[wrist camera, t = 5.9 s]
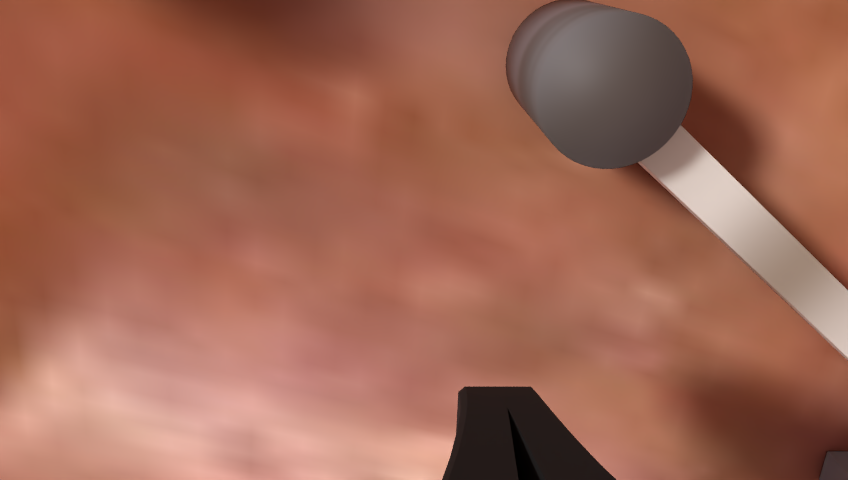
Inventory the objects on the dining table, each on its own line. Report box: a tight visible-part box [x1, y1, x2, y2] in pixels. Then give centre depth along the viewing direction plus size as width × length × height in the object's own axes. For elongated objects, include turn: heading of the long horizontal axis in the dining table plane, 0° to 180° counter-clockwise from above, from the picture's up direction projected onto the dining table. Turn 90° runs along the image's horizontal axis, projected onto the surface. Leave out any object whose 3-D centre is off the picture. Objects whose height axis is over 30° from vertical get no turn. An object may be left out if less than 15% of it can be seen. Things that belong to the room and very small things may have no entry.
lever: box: [506, 0, 848, 360], centre depth 18 cm, size 17×3×4 cm, turn 49°
